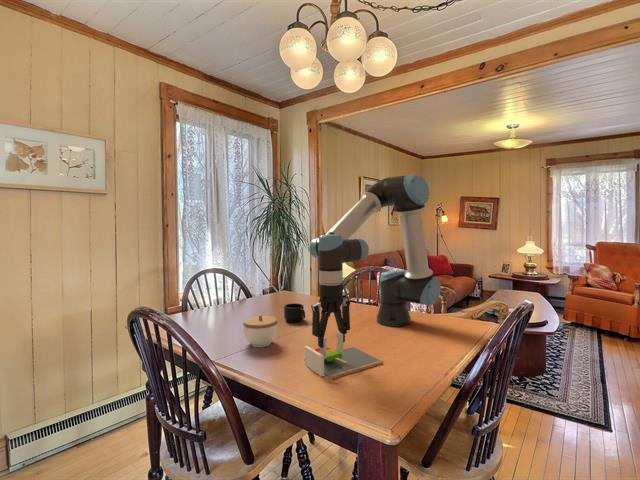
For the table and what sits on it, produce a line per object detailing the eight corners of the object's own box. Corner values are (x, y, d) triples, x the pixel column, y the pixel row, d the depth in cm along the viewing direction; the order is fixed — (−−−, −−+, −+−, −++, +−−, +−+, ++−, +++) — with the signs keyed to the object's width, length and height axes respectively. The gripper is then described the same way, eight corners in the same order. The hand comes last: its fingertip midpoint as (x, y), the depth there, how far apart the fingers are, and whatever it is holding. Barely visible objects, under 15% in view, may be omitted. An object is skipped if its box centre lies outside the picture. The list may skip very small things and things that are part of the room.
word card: (308, 363, 113) (307, 345, 112) (324, 375, 104) (324, 355, 104) (304, 364, 112) (304, 346, 112) (321, 376, 103) (321, 356, 103)
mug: (280, 320, 162) (280, 305, 162) (294, 316, 168) (294, 302, 168) (297, 326, 154) (297, 310, 153) (312, 321, 160) (312, 306, 160)
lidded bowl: (241, 340, 135) (241, 312, 135) (273, 336, 140) (273, 309, 139) (246, 352, 124) (246, 321, 123) (281, 347, 128) (280, 317, 127)
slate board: (352, 348, 126) (352, 346, 126) (382, 363, 112) (382, 361, 112) (304, 360, 115) (304, 358, 115) (331, 378, 102) (331, 376, 102)
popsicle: (325, 351, 120) (325, 346, 120) (353, 363, 107) (353, 357, 107) (312, 355, 117) (312, 349, 116) (339, 368, 104) (338, 361, 104)
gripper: (347, 278, 118) (348, 345, 120) (299, 284, 109) (300, 357, 110) (361, 281, 112) (362, 352, 113) (311, 288, 102) (312, 365, 104)
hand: (331, 354), depth 112 cm, fingers closed on popsicle, 6 cm apart
